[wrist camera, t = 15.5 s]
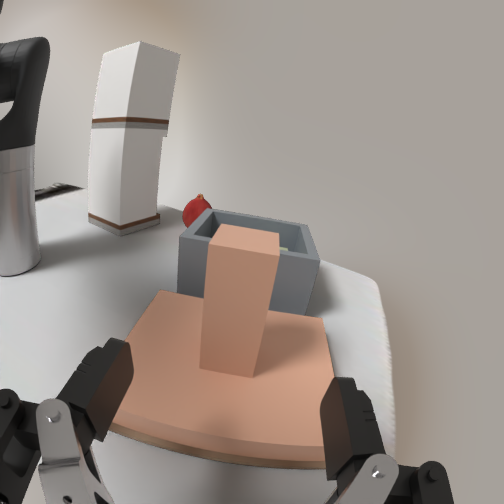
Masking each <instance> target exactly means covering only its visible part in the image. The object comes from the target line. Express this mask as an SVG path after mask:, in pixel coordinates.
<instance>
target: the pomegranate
mask: <svg viewBox="0 0 504 504" xmlns="http://www.w3.org/2000/svg"><path fill="white" fill-rule="evenodd" d="M207 208H209V209H212V207H211V206H210V204H209V203H208V202H207V201H206V200H205V199H204V197H203V195H202V194H198V196H197V197H196V198H195V199H193V200H191V201H190V202H189V203H188V204H187V205H186V207H185V209H184V211H183V216H182V217H183V222H184V224H185V226H186V227H187V228H188V227H189V226H190V225H191V224H192V223H193V222H194V221H195V220H196V219H197V218H198V217H199V216H200V215H201V214H202V213H203V212H204V211H205V210H206V209H207Z"/></svg>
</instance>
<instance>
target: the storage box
mask: <svg viewBox="0 0 504 504" xmlns="http://www.w3.org/2000/svg"><path fill="white" fill-rule="evenodd" d="M221 224H227V225H233V226H239V227H245V228H251V229H257V230H263V231H269V232H274V233H279V249H280V257H279V262H278V267H277V271H276V276H275V281H274V285H273V290H272V295H271V299H270V304H269V308H268V310H270V311H277V312H283V313H290V314H296V315H303V316H305V313H306V310H307V306H308V303H309V300H310V296H311V293H312V289H313V286H314V282H315V279H316V275H317V271H318V268H319V264H320V258H319V255H318V253H317V250H316V247H315V244H314V242H313V239H312V236H311V234H310V231H309V228H308V226H307V225H304V224H299V223H293V222H287V221H282V220H276V219H271V218H264V217H259V216H253V215H247V214H241V213H235V212H229V211H222V210H216V209H209V208H207V209H206V210H205V211H204V212H203V213H202V214H201V215H200V216H199V217H198V218H197V219H196V220H195V221H194V222H193V223H192V224H191V225H190V226H189V227H188V228H187V229H186V230H185V231H184V233H183V234H182V235H181V236H180V238H179V256H178V280H177V293H179V294H183V295H188V296H193V297H198V298H203V299H204V289H205V277H206V266H207V255H208V245H209V242H210V241H211V239H212V238H213V236H214V234H215V233H216V231H217V230H218V228H219V227H220V225H221Z"/></svg>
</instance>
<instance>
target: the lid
mask: <svg viewBox="0 0 504 504" xmlns="http://www.w3.org/2000/svg"><path fill="white" fill-rule="evenodd" d="M279 257H280V249H279V233H274V232H269V231H263V230H257V229H251V228H245V227H239V226H233V225H227V224H221V225H220V227H219V228H218V230H217V231H216V233H215V234H214V236H213V238H212V239H211V241H210V242H209V245H208V255H207V266H206V277H205V289H204V299H203V298H198V297H193V296H188V295H183V294H179V293H174V292H169V291H165V290H159V292H158V293H157V295H156V296H155V297H154V299H153V300H152V302H151V303H150V304H149V306H148V307H147V309H146V310H145V312H144V313H143V314H142V316H141V317H140V319H139V320H138V322H137V323H136V325H135V326H134V328H133V329H132V330H131V332H130V333H129V335H128V336H127V338H126V339H125V342H128V343H129V344H130V348H131V354H132V360H133V366H134V376H133V380H132V382H131V384H130V386H129V388H128V390H127V392H126V394H125V396H124V398H123V400H122V402H121V404H120V407H119V409H118V411H117V413H116V415H115V417H114V419H113V421H112V422H113V423H116V424H118V425H121V426H124V427H126V428H129V429H132V430H135V431H138V432H141V433H144V434H147V435H150V436H154V437H157V438H160V439H164V440H167V441H171V442H175V443H179V444H183V445H187V446H191V447H195V448H200V449H205V450H210V451H215V452H221V453H226V454H233V455H239V456H247V457H255V458H264V459H276V460H291V461H325V454H324V445H323V436H322V428H321V420H320V404H321V401H322V399H323V397H324V395H325V393H326V391H327V389H328V387H329V385H330V383H331V381H332V379H333V378H334V373H333V368H332V362H331V357H330V353H329V348H328V343H327V338H326V333H325V329H324V324H323V320H322V318H318V317H310V316H303V315H296V314H290V313H283V312H277V311H270V310H268V308H269V304H270V299H271V295H272V290H273V285H274V281H275V276H276V271H277V267H278V262H279Z"/></svg>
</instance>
